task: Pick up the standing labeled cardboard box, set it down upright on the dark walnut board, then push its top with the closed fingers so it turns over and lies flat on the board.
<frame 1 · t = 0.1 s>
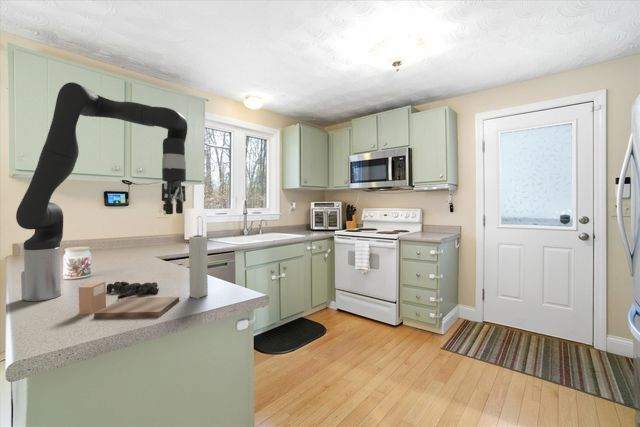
hand: (174, 213, 106), 29 cm above the counter, tool pointing down, fingers open, 8 cm apart
labeled cardboard box: (93, 310, 91), on the counter
paper towel roll: (197, 296, 106), on the counter
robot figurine: (134, 294, 111), on the counter
board: (140, 309, 92), on the counter
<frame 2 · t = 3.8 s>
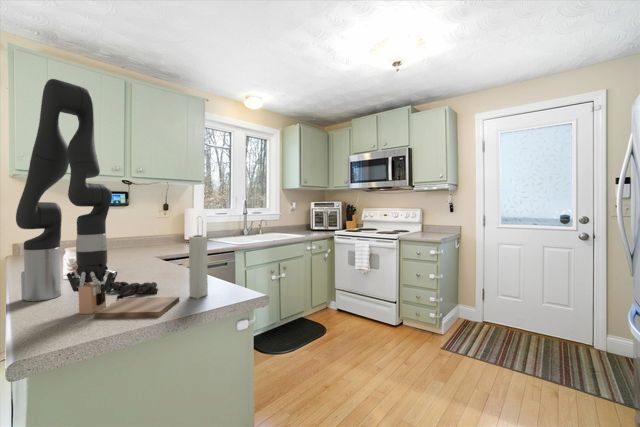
hand: (93, 304, 91), 2 cm above the counter, tool pointing down, fingers closed on labeled cardboard box, 3 cm apart
labeled cardboard box: (93, 310, 91), on the counter, touching gripper
everything else where it was.
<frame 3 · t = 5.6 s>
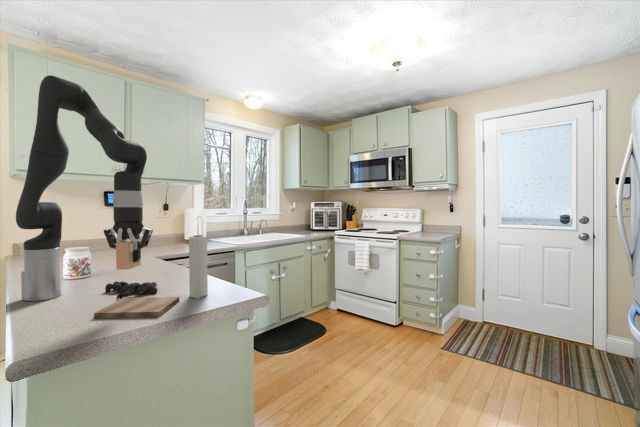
hand: (129, 261, 92), 15 cm above the counter, tool pointing down, fingers closed on labeled cardboard box, 3 cm apart
labeled cardboard box: (129, 267, 92), point 13 cm above the counter, touching gripper
everything else where it was.
when the fingers open (4 cm above the counter, at t = 7.8 s): labeled cardboard box stays where it is, resting on board.
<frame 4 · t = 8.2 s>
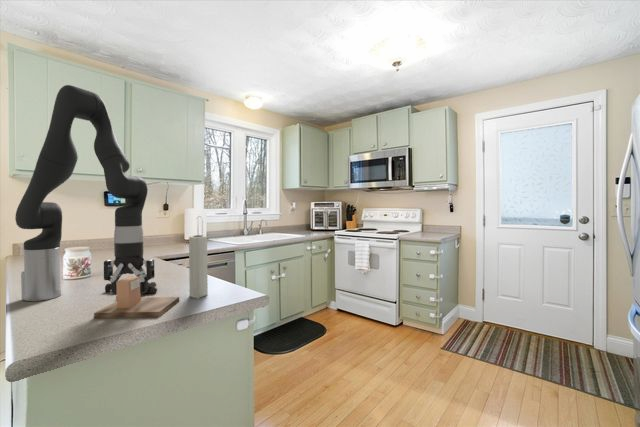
hand: (129, 293, 92), 5 cm above the counter, tool pointing down, fingers open, 7 cm apart
labeled cardboard box: (129, 304, 92), point 1 cm above the counter, touching board
everything else where it was.
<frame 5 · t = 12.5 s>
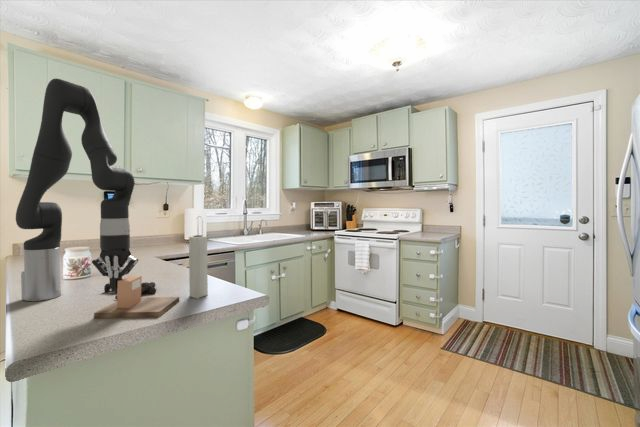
hand: (116, 289, 92), 6 cm above the counter, tool pointing down, fingers closed
labeled cardboard box: (129, 304, 92), point 2 cm above the counter, touching board, gripper
everything else where it was.
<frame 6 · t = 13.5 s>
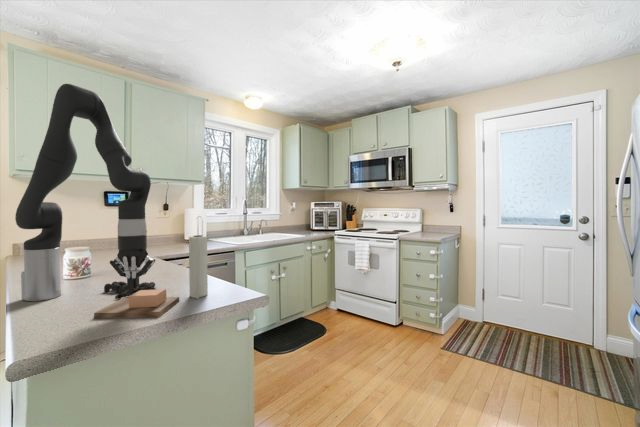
hand: (133, 289, 92), 6 cm above the counter, tool pointing down, fingers closed
labeled cardboard box: (134, 298, 92), point 3 cm above the counter, tilted 88°, touching board
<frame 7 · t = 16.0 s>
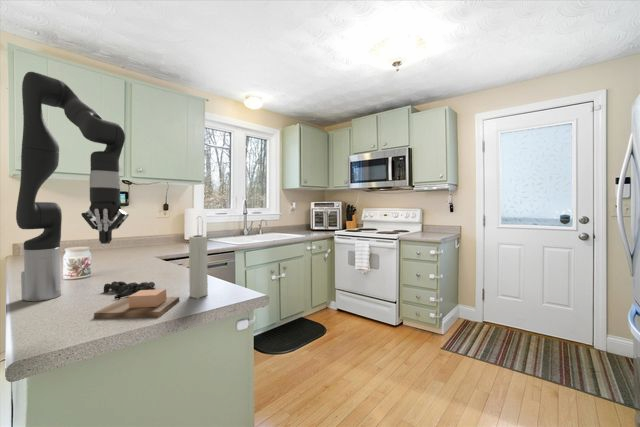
hand: (105, 243, 91), 21 cm above the counter, tool pointing down, fingers closed
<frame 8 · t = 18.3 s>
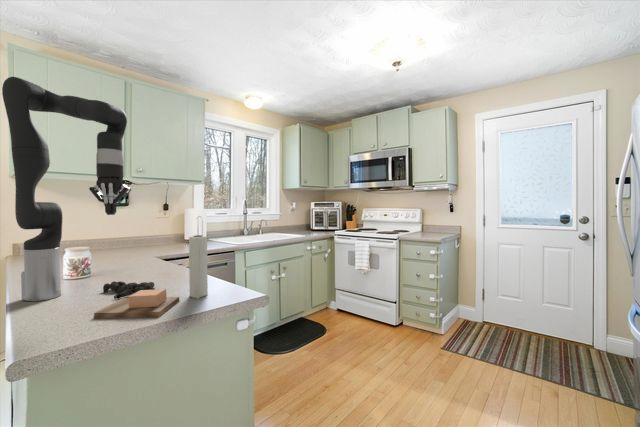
hand: (111, 214, 102), 29 cm above the counter, tool pointing down, fingers closed
at the end: labeled cardboard box tilted 88°; labeled cardboard box inside the target area (2.0 cm from its centre), point 3.2 cm above the counter; the gripper is holding nothing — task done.
